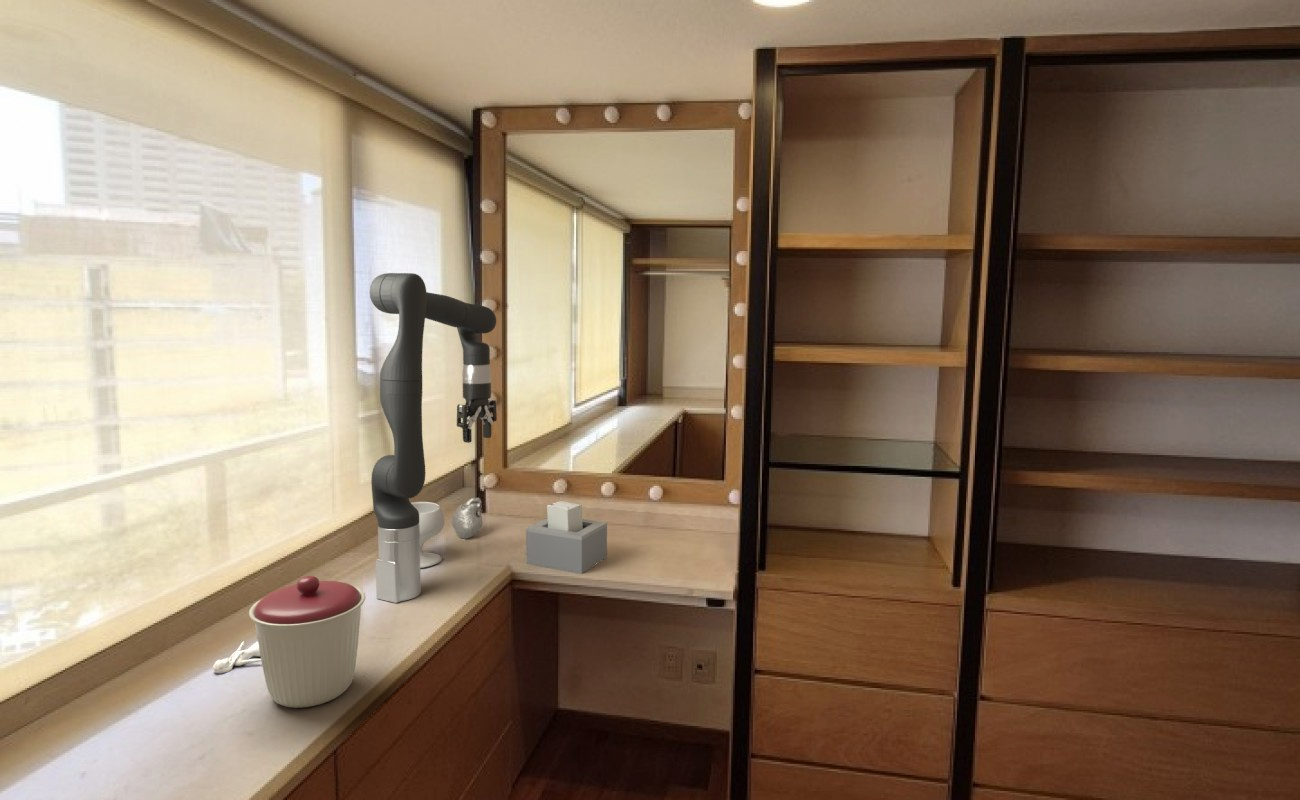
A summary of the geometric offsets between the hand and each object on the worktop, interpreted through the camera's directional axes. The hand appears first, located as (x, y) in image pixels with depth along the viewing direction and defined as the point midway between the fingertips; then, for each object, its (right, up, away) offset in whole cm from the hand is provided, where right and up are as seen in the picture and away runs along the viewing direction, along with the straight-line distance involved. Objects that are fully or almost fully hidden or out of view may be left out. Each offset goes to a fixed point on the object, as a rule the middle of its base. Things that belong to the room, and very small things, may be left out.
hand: (477, 439), depth 194 cm
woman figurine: (-28, -39, -56) cm, 74 cm away
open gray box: (+25, -33, -1) cm, 41 cm away
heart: (-8, -30, +19) cm, 37 cm away
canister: (-12, -41, -70) cm, 81 cm away
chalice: (-15, -33, -4) cm, 36 cm away
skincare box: (+24, -32, -1) cm, 40 cm away
